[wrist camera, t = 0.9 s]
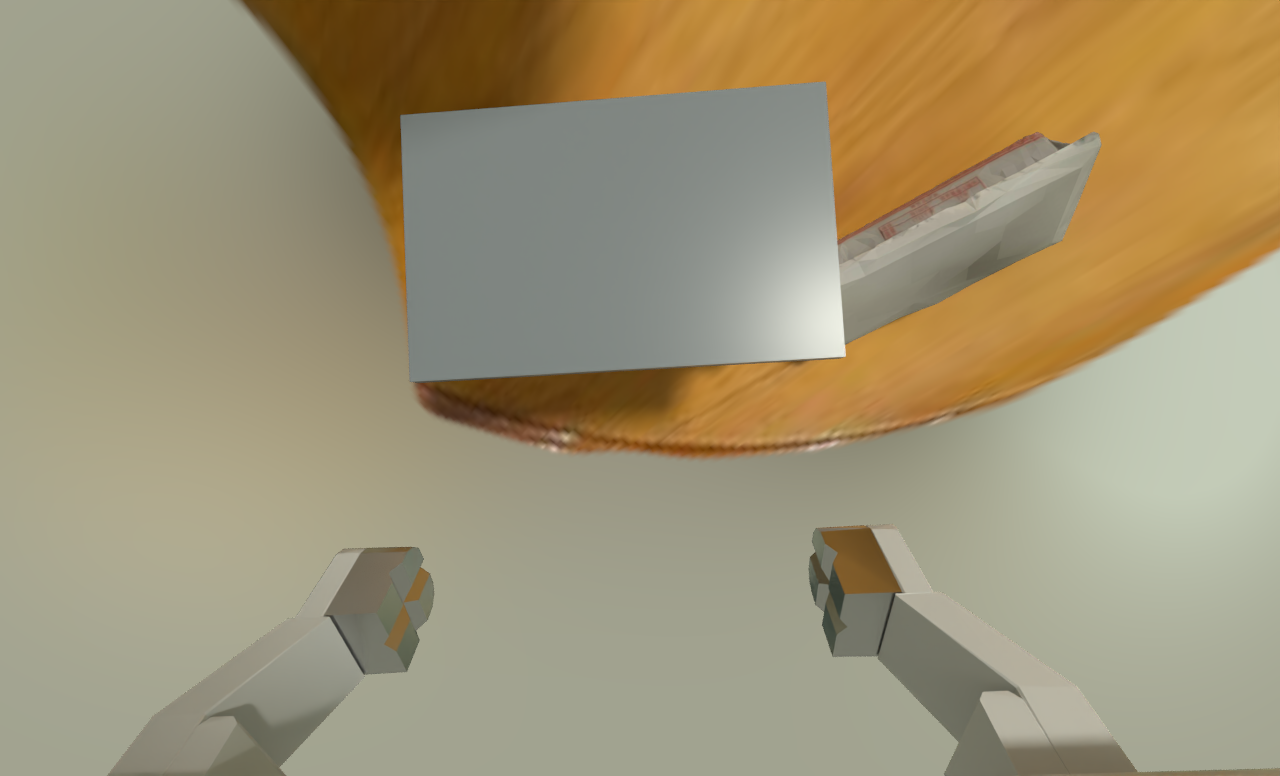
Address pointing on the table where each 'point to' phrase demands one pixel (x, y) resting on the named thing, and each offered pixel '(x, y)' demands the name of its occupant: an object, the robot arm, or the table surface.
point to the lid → (621, 235)
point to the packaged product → (962, 230)
